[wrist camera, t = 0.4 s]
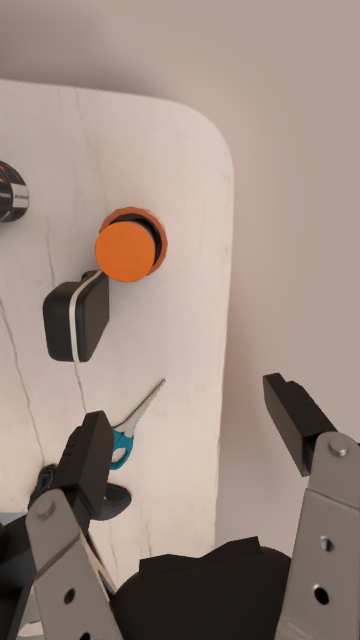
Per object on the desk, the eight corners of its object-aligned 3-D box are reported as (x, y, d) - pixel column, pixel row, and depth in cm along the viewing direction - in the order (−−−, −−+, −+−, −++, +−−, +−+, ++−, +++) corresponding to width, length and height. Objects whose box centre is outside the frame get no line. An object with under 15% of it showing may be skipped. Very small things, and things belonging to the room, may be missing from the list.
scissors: (80, 458, 41) (145, 371, 36) (81, 453, 42) (145, 367, 37) (116, 472, 43) (184, 392, 38) (117, 467, 44) (183, 387, 39)
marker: (115, 222, 28) (85, 229, 17) (152, 214, 28) (146, 215, 17) (126, 259, 30) (105, 287, 19) (161, 252, 30) (160, 275, 19)
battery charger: (76, 266, 30) (31, 295, 20) (108, 269, 31) (81, 298, 20) (80, 319, 33) (42, 369, 23) (109, 321, 33) (86, 371, 23)
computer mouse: (108, 526, 51) (103, 550, 47) (21, 501, 46) (9, 526, 43) (137, 490, 47) (135, 514, 44) (46, 460, 43) (36, 483, 39)
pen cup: (105, 215, 28) (88, 216, 22) (158, 202, 28) (157, 200, 22) (121, 268, 31) (111, 283, 24) (171, 257, 31) (173, 269, 24)
